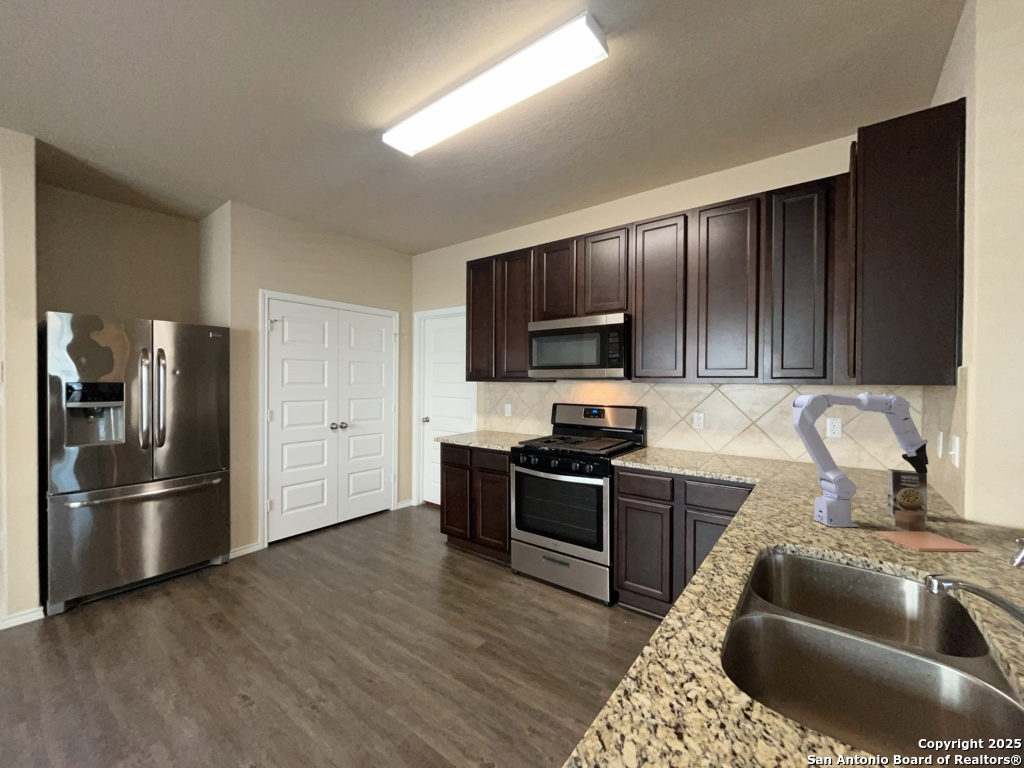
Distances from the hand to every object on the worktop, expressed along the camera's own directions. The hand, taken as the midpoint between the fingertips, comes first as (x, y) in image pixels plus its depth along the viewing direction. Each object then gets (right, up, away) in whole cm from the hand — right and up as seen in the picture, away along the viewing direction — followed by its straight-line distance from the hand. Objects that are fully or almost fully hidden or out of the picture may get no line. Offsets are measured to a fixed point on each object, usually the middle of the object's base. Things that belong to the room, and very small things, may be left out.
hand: (923, 468), depth 136 cm
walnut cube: (-6, -19, -2) cm, 20 cm away
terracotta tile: (-14, -18, -14) cm, 27 cm away
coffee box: (+4, -19, +10) cm, 22 cm away
